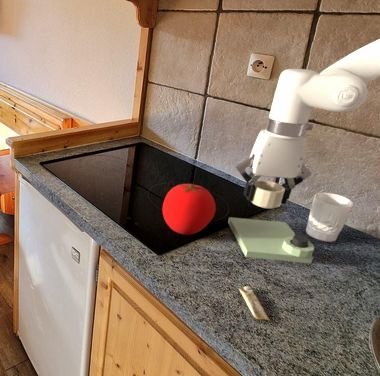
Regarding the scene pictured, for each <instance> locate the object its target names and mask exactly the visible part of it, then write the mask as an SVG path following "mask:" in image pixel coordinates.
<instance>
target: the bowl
mask: <svg viewBox="0 0 380 376" xmlns="http://www.w3.org/2000/svg"><path fill="white" fill-rule="evenodd" d="M254 185H255V191H254V195H253V198H252V201H250V202H251V203H252V204H253V205H255V206H256V207H260V208H263V209H275V208H276V209H277V208H279V207H281V205H282V203H281V201H282V198H283V195H284V192H285V188H284V187H283V186H282V184H280V183H278V182H275V181H271V180H266V179H258V180H257V181H256V182H255V183H254Z"/></svg>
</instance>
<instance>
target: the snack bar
mask: <svg viewBox="0 0 380 376" xmlns="http://www.w3.org/2000/svg"><path fill="white" fill-rule="evenodd" d="M236 288H237V289H238V290H239V293H240V294H241V296H242V298H243V300H244V301H245V303H246V306H247V307H248V309H249V311H250V313H251V315H252V316H253V318H254V319H255V320H260V321H263V322H265V323H266V322H267V323H268V322H269V323H270V322H271V319H270V318H269V316H268V315H267V313H266V310H265V309H264V307H263V305H262V303H261V302H260V300H259V299H258V296H257V295H256V294H255V292H254V290H253V288H252V286H251V285H247V286H246V285H245V286H238V285H236Z"/></svg>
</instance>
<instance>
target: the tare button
mask: <svg viewBox="0 0 380 376" xmlns="http://www.w3.org/2000/svg"><path fill="white" fill-rule="evenodd" d="M308 241H309V238H307V237H306V236H304V235H300V234H295V235H294V236H293V239H292V242H291V244H293V245H294V246H297V247H300V248H306V247H307V244H308ZM309 242H310V241H309Z"/></svg>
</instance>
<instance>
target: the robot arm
mask: <svg viewBox="0 0 380 376" xmlns="http://www.w3.org/2000/svg"><path fill="white" fill-rule="evenodd" d="M379 78H380V38H379V39H377V40H374V41H371V42H370V43H368V44H366V45H363V46H362V47H360V48H358V49H356V50H355V51H353V52H351V53H349V54H348V55H346V56H344V57H342V58H341V59H339V60H338V61H336V62H334V63H333V64H331V65H329V66H327V68H325V69H323V70H322V71H321V72H320V73H319V72H318V71H315V70H311V69H306V68H288V69H287V68H286V69H284V70H283V71H282V72H281V73H280V75H279V77H278V81H277V84H276V88H275V92H274V96H273V98H272V99H273V100H272V103H271V106H270V107H271V108H270V112H269V114H268V119H267V122H266V125H265V129H261V130H260V132H259V133H258V135H257V137H256V140H255V141H254V145H253V146H252V149H251V152H250V154H249V158H247V159H245V160H244V161H242V162H240V163H239V164H237V165H236V166H235V168H236V169H237V171H238V172H239V174H240V176H241V177H242V178H243V179H244V180H245V186H244V190H243V196H244V197H245V198H246V200H247V201H248V202H251V201H252V198H253V195H254V191H255V185H254V183H255V182H256V181H257V180H260V178H261V177H266V178H267V177H268V178H280V179H283V180H284V183H281V185H282V186H283V187H284V188H285V192H284V195H283V198H282V201H281V205H286V204H287V200H289V199H290V196H291V194H292V191H293V189H295V188H296V186H298V185H300V184H301V183H302V182H303V181H304V180H306V179H308V178H309V177H310V176H311V175H312V171H310V169H309V168H308V167H307V166H306V165H305V164H304V158H305V154H306V146H307V136H306V133H307V132H308V131H312V130H313V128H314V124H313V123H309V120H310V117H311V113H312V111H313V108H314V109H320V110H324V111H328V112H332V113H347V112H351V111H354V110H356V109H358V108H359V107H360V106H362V104H363V103H364V102H365V101H366V99H367V97H368V87H367V84H368V83H370V82H372V81H374V80H378V79H379ZM246 169H250V172H249V173H247V171H246Z"/></svg>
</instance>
